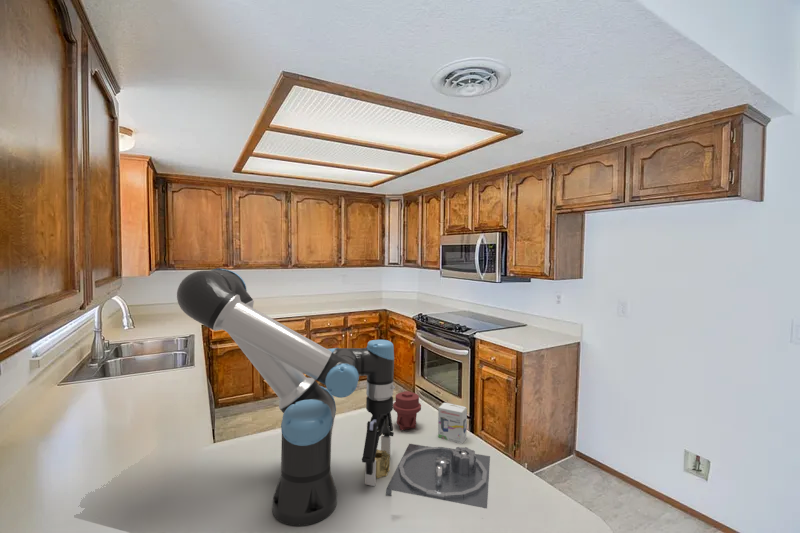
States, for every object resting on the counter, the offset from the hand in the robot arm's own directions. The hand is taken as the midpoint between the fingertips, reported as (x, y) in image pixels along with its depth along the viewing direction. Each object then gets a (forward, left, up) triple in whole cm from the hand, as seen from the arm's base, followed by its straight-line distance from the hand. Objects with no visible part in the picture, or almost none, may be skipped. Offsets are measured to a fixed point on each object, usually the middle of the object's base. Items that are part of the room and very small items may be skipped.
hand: (378, 470), depth 107 cm
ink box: (+24, -18, 0) cm, 30 cm away
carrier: (+3, -18, 0) cm, 18 cm away
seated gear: (+6, -23, +1) cm, 24 cm away
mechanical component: (+30, -1, 0) cm, 30 cm away
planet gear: (0, 0, 0) cm, 0 cm away
